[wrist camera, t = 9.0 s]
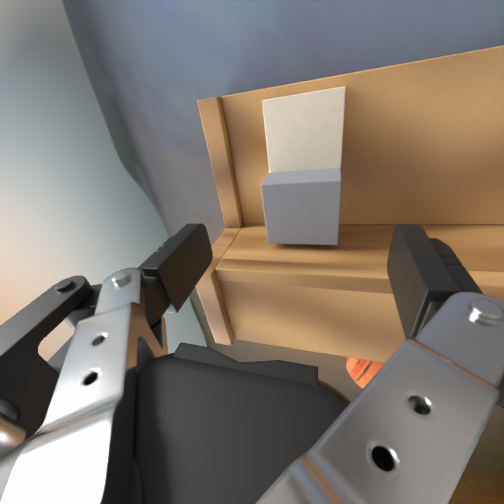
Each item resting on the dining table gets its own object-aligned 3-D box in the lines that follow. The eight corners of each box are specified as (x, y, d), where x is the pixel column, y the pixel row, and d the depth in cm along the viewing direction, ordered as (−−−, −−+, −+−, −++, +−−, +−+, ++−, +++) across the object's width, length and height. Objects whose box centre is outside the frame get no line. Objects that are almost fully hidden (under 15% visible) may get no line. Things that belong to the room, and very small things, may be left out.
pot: (400, 375, 30) (397, 430, 25) (342, 340, 32) (330, 384, 27) (447, 345, 25) (456, 406, 20) (375, 305, 27) (367, 352, 22)
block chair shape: (266, 99, 14) (249, 102, 11) (345, 86, 13) (348, 85, 10) (277, 219, 18) (267, 244, 16) (337, 219, 17) (337, 245, 14)
